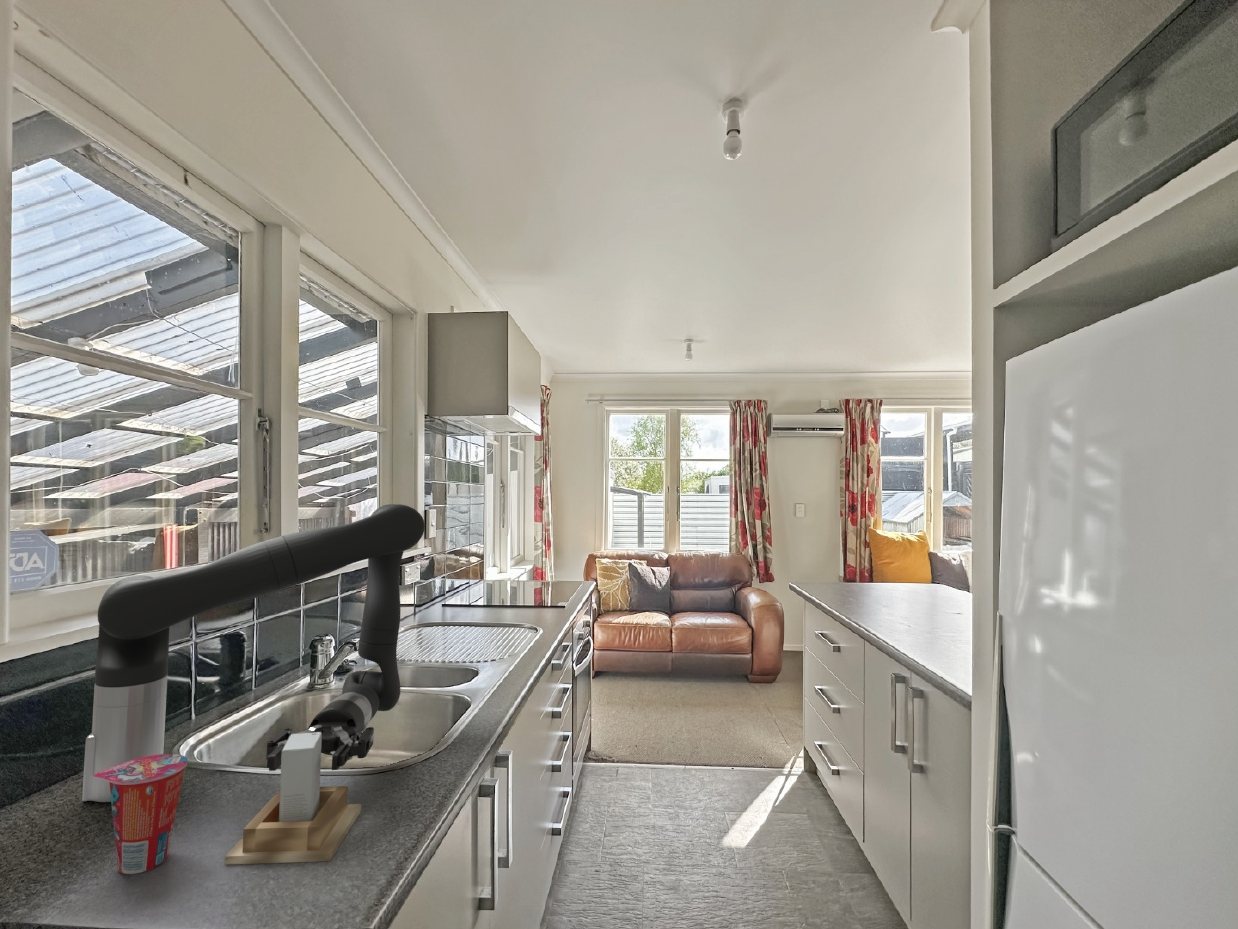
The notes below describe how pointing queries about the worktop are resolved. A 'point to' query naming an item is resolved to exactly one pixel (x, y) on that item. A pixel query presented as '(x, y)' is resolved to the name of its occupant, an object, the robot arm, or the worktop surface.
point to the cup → (144, 808)
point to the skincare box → (300, 778)
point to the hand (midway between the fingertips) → (303, 763)
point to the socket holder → (296, 832)
